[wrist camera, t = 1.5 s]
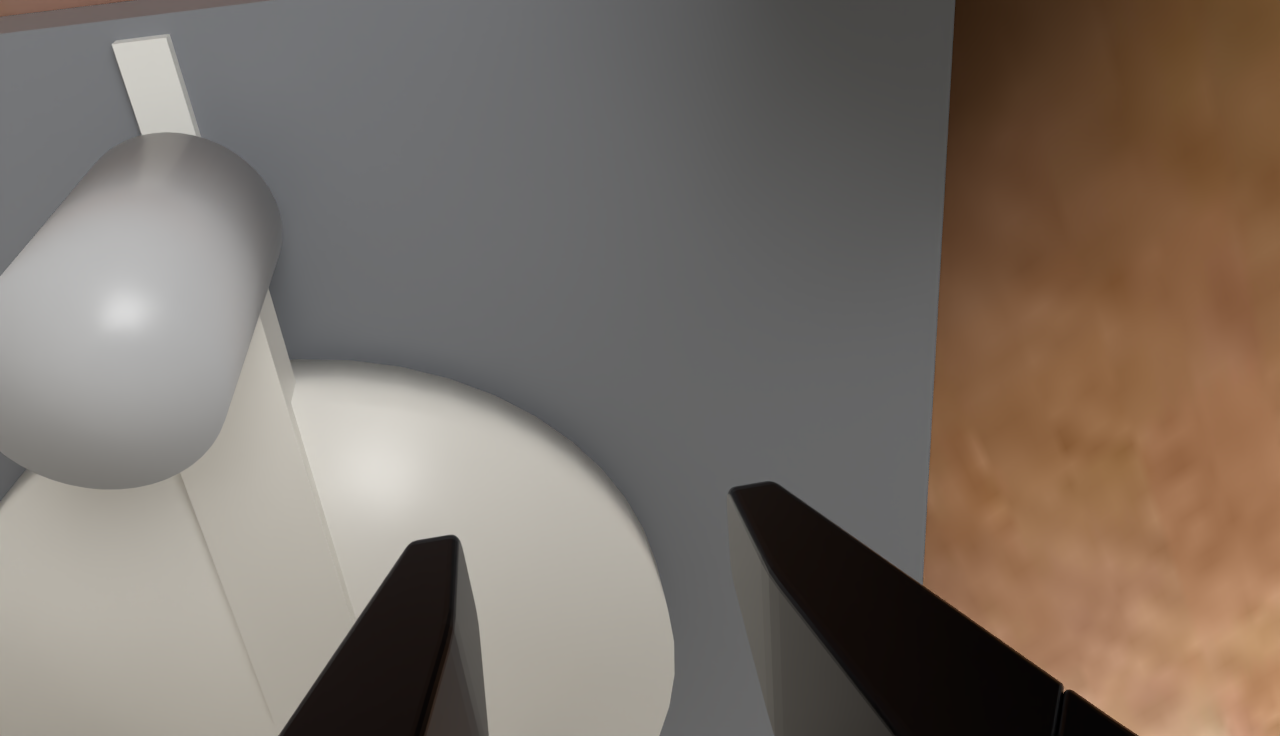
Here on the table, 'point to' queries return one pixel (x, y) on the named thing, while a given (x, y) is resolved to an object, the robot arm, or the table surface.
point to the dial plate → (574, 233)
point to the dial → (270, 489)
